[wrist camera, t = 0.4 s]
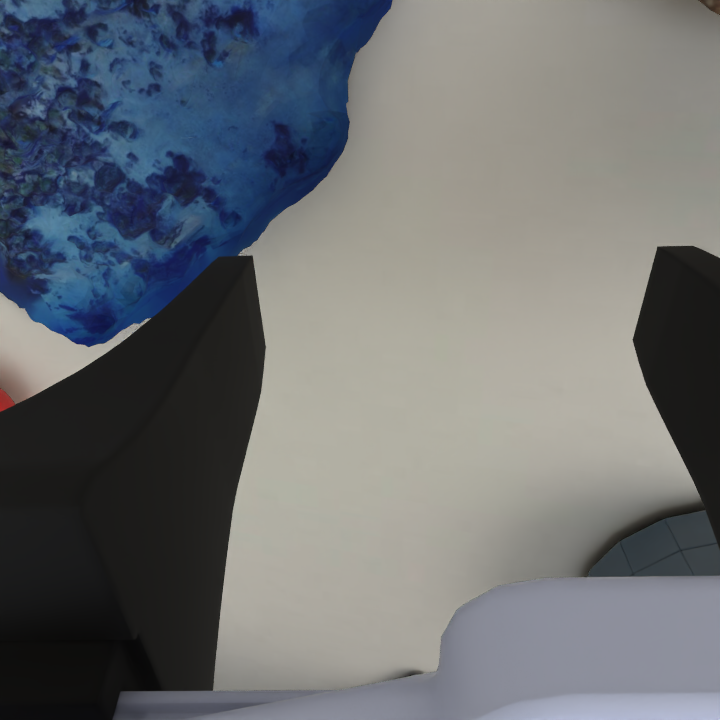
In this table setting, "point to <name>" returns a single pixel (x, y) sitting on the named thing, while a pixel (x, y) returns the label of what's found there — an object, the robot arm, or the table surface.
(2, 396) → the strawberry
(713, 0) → the mushroom
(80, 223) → the rock
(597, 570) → the bowl
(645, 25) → the table surface
